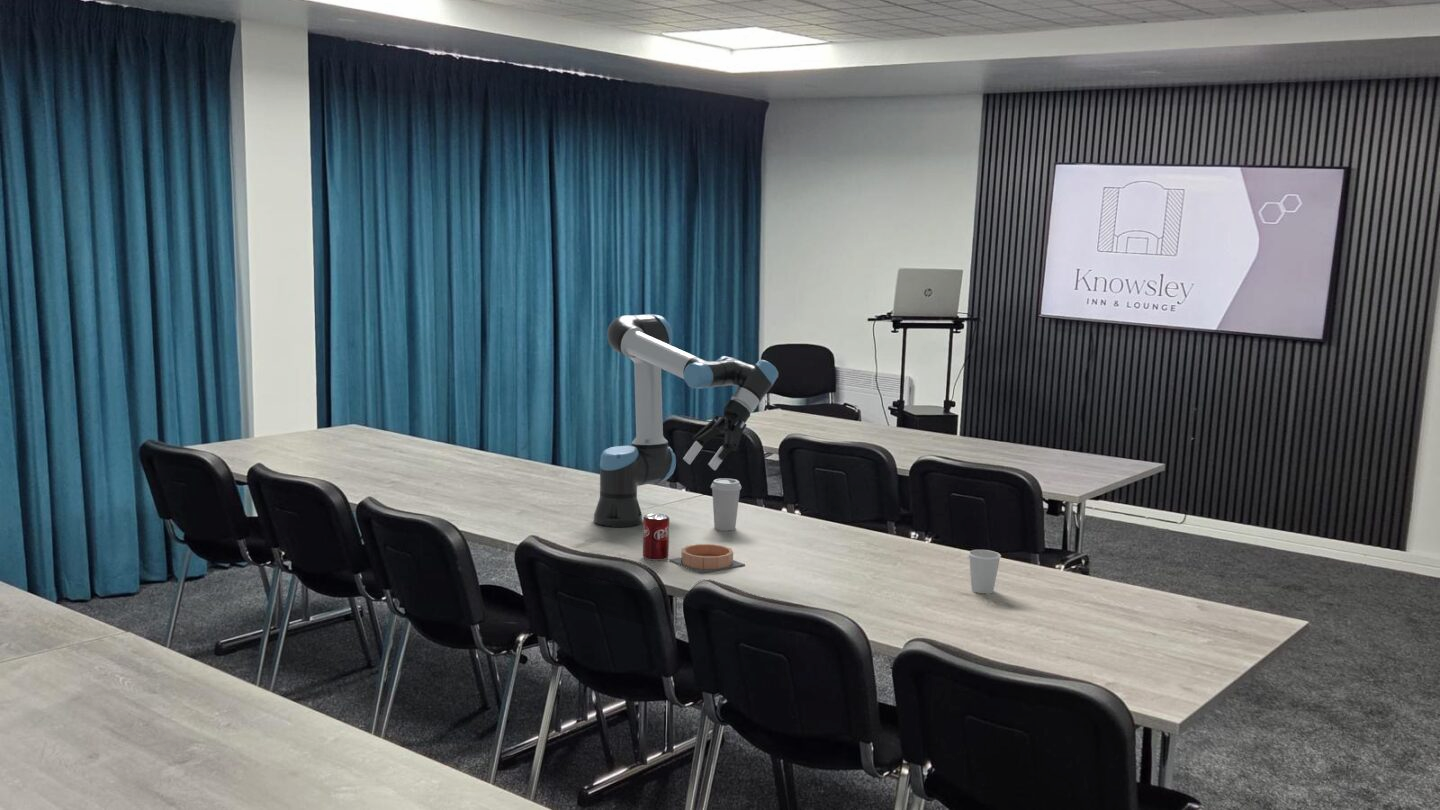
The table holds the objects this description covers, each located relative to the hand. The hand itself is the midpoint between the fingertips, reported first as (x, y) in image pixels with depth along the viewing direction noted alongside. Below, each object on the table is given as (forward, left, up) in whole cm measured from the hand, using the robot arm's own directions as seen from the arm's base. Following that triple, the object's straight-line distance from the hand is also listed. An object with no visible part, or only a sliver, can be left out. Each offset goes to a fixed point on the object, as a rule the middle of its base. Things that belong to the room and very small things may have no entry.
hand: (698, 464), depth 338 cm
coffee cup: (-17, +24, -26) cm, 39 cm away
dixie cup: (+71, +41, -26) cm, 86 cm away
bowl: (+12, -5, -25) cm, 28 cm away
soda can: (0, -14, -26) cm, 29 cm away
